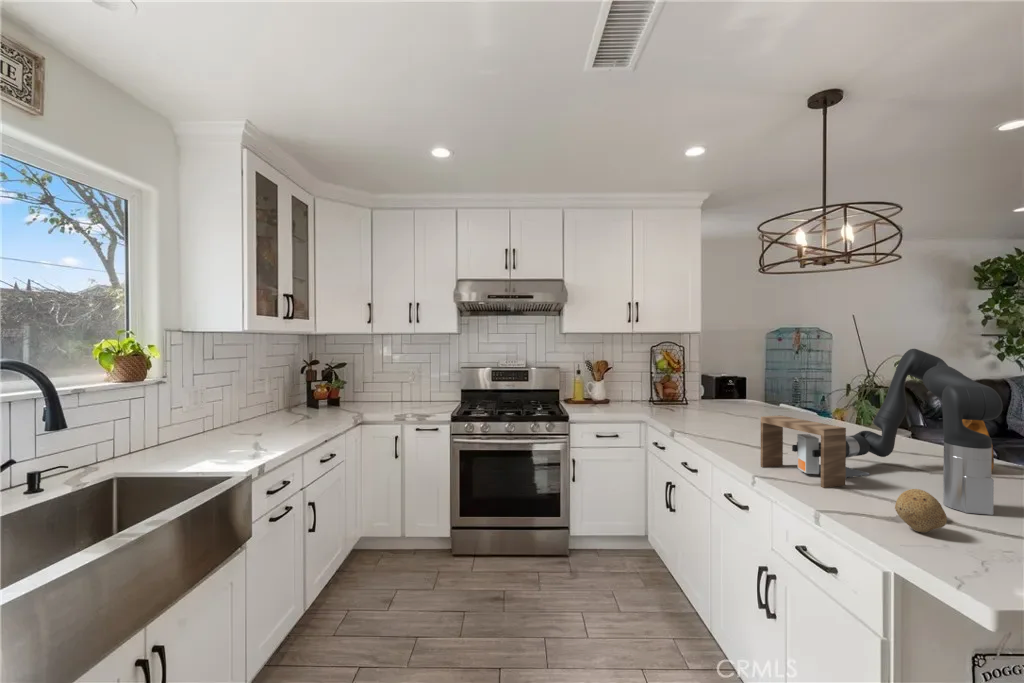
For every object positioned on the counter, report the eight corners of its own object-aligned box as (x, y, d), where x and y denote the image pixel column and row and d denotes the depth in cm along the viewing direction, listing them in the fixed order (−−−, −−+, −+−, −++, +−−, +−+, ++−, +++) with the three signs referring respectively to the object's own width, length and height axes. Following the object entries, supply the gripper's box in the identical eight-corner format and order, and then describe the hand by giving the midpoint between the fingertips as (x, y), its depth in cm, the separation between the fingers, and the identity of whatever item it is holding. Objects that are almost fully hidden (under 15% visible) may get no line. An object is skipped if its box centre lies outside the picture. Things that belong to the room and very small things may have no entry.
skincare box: (797, 468, 157) (796, 433, 157) (810, 468, 157) (810, 434, 157) (805, 473, 151) (805, 437, 151) (819, 474, 151) (819, 438, 151)
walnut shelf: (845, 485, 143) (845, 427, 143) (823, 487, 140) (824, 429, 140) (780, 464, 166) (780, 415, 166) (760, 466, 163) (760, 416, 163)
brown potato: (884, 522, 114) (884, 482, 114) (921, 523, 114) (921, 483, 113) (914, 538, 105) (914, 495, 105) (954, 539, 104) (955, 496, 104)
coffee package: (953, 470, 159) (953, 407, 159) (953, 463, 168) (953, 403, 168) (994, 476, 152) (995, 410, 152) (992, 468, 161) (992, 406, 161)
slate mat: (869, 475, 153) (869, 473, 153) (840, 478, 150) (840, 476, 150) (832, 464, 166) (832, 463, 166) (804, 467, 162) (804, 466, 162)
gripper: (820, 432, 165) (784, 435, 160) (861, 440, 151) (823, 444, 146) (820, 452, 165) (784, 456, 160) (861, 463, 151) (823, 468, 147)
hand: (803, 451), depth 153 cm, fingers closed on skincare box, 7 cm apart
